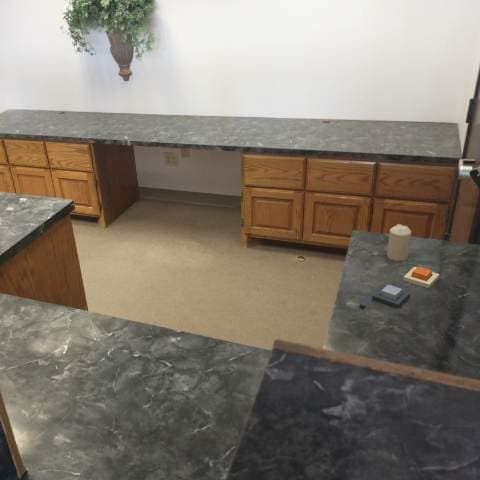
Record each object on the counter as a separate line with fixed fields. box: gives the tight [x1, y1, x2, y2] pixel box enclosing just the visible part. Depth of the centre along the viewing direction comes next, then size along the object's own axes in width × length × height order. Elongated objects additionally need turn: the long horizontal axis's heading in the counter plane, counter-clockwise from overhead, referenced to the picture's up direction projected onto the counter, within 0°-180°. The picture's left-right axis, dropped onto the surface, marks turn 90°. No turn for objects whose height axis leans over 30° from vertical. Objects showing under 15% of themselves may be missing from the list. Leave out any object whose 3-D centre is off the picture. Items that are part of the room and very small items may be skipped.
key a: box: [412, 266, 433, 281], centre depth 133 cm, size 4×4×2 cm
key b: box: [381, 284, 403, 301], centre depth 127 cm, size 4×4×2 cm
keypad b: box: [359, 283, 411, 310], centre depth 128 cm, size 12×10×3 cm
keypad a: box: [402, 266, 440, 289], centre depth 134 cm, size 12×10×3 cm
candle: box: [386, 223, 412, 262], centre depth 146 cm, size 6×6×10 cm
